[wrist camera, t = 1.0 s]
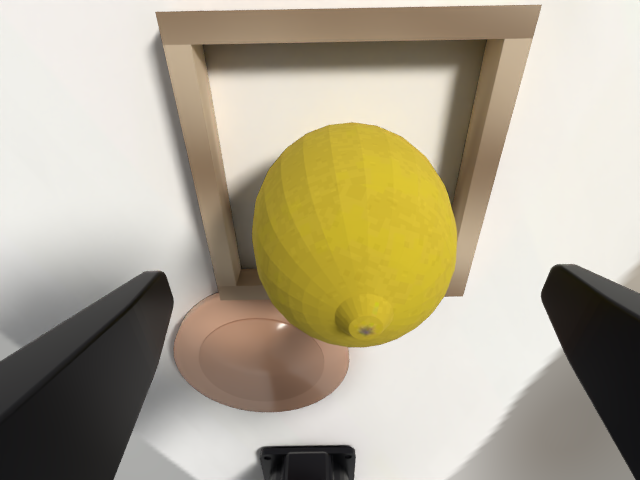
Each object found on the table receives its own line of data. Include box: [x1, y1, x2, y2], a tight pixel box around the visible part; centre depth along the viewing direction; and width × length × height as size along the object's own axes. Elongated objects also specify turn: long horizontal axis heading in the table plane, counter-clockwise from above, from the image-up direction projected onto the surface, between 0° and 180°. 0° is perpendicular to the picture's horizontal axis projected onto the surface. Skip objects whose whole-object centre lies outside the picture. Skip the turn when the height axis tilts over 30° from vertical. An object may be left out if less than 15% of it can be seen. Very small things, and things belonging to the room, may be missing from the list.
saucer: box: [173, 292, 349, 412], centre depth 19 cm, size 9×9×1 cm
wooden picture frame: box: [156, 5, 542, 300], centre depth 13 cm, size 11×11×1 cm
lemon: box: [252, 123, 457, 347], centre depth 10 cm, size 6×6×8 cm
